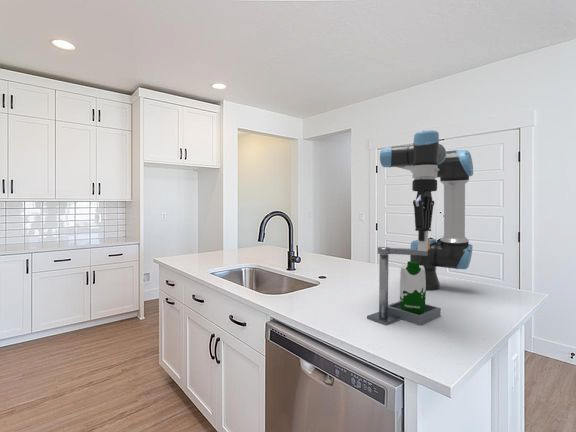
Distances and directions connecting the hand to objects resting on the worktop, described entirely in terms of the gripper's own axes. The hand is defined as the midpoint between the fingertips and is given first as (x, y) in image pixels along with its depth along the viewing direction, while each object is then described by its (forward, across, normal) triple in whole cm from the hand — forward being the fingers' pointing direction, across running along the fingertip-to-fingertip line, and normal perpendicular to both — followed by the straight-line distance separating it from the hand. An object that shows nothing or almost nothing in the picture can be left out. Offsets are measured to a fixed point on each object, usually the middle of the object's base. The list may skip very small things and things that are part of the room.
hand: (422, 250), depth 106 cm
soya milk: (+26, +9, +6) cm, 28 cm away
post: (+26, -2, +12) cm, 28 cm away
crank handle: (+2, 0, +7) cm, 7 cm away
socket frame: (+25, +9, +6) cm, 28 cm away
